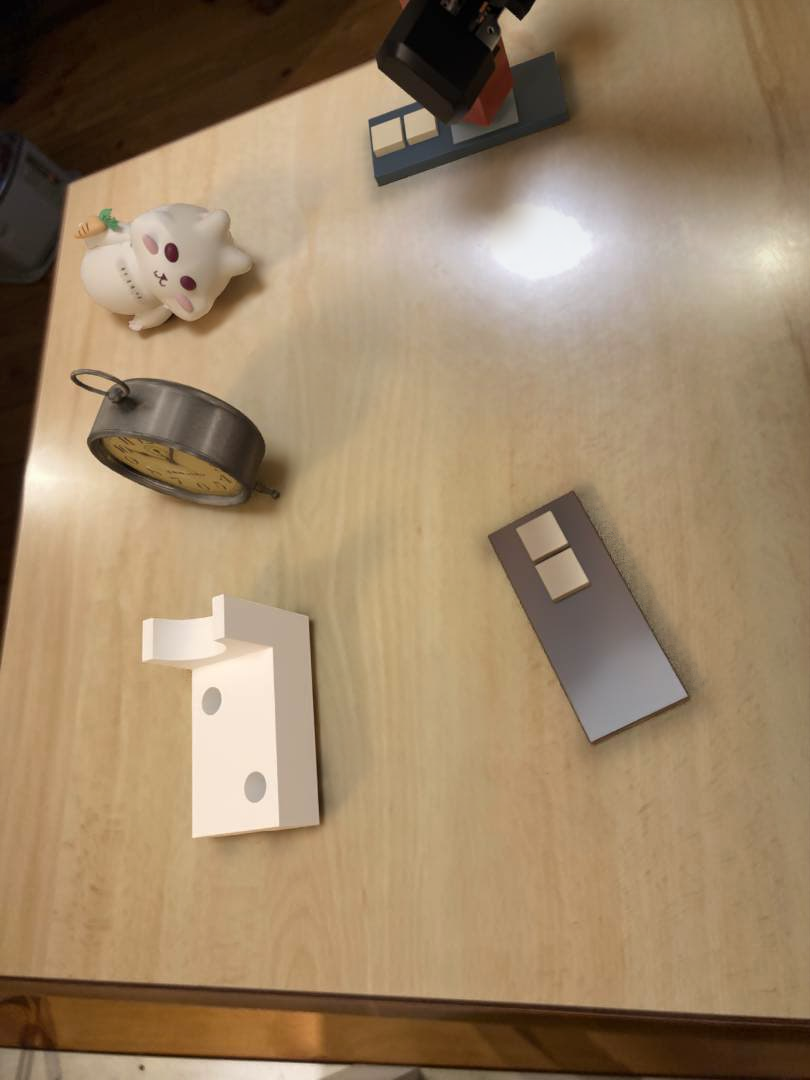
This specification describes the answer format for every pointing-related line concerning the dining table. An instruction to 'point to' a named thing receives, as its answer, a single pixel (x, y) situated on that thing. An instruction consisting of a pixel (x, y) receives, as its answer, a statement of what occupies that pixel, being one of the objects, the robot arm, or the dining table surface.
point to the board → (586, 619)
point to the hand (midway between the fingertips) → (442, 35)
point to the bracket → (245, 714)
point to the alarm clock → (177, 440)
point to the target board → (466, 124)
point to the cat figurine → (159, 262)
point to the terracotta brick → (490, 87)
